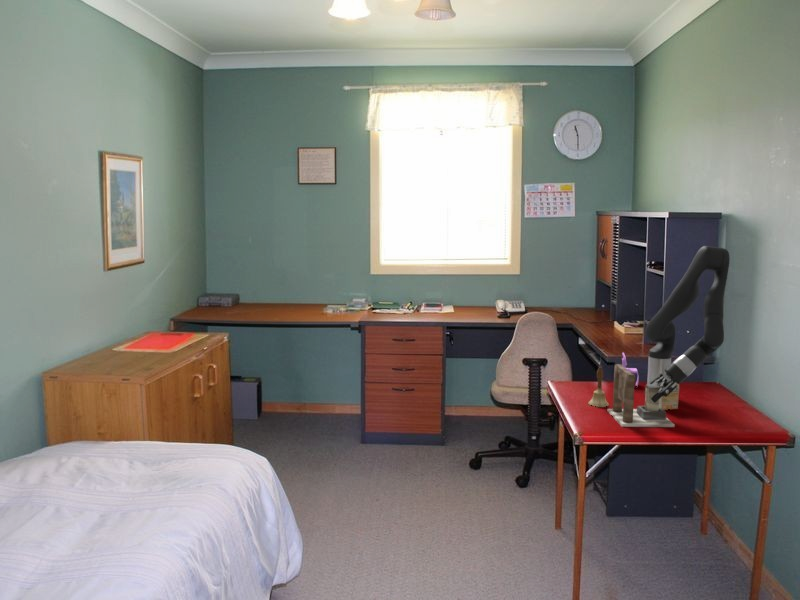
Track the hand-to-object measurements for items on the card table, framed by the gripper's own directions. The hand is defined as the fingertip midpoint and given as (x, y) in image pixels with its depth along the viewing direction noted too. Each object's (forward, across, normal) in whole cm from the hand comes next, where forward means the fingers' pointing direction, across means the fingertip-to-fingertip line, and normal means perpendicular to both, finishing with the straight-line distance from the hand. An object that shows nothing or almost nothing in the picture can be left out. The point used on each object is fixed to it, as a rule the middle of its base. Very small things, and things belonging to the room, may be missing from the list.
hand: (648, 397), depth 279 cm
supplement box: (-2, -15, +15) cm, 21 cm away
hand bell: (+16, -20, -4) cm, 26 cm away
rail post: (+4, 0, +6) cm, 7 cm away
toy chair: (0, -53, +12) cm, 54 cm away
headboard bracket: (+8, 0, +4) cm, 9 cm away
